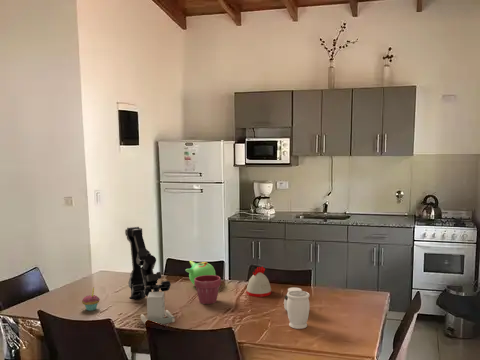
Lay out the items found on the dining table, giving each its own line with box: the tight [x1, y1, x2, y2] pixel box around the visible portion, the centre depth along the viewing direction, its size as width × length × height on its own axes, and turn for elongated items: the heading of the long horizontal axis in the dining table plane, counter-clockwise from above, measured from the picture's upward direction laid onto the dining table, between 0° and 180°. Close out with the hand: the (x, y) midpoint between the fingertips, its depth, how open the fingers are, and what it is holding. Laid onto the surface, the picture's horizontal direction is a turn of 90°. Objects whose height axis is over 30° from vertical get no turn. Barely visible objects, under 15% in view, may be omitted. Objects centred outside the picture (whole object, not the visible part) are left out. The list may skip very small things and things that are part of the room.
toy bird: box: [185, 260, 217, 285], centre depth 278 cm, size 18×17×15 cm
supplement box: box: [146, 291, 166, 320], centre depth 221 cm, size 7×7×13 cm
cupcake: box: [81, 286, 101, 312], centre depth 238 cm, size 9×8×12 cm
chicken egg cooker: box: [246, 266, 272, 298], centre depth 263 cm, size 14×14×15 cm
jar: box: [286, 290, 311, 330], centre depth 213 cm, size 11×10×15 cm
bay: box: [140, 309, 176, 325], centre depth 222 cm, size 11×13×2 cm
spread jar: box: [283, 287, 303, 312], centre depth 233 cm, size 12×11×12 cm
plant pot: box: [193, 275, 222, 305], centre depth 249 cm, size 14×14×13 cm
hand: (154, 303), depth 225 cm, fingers closed
